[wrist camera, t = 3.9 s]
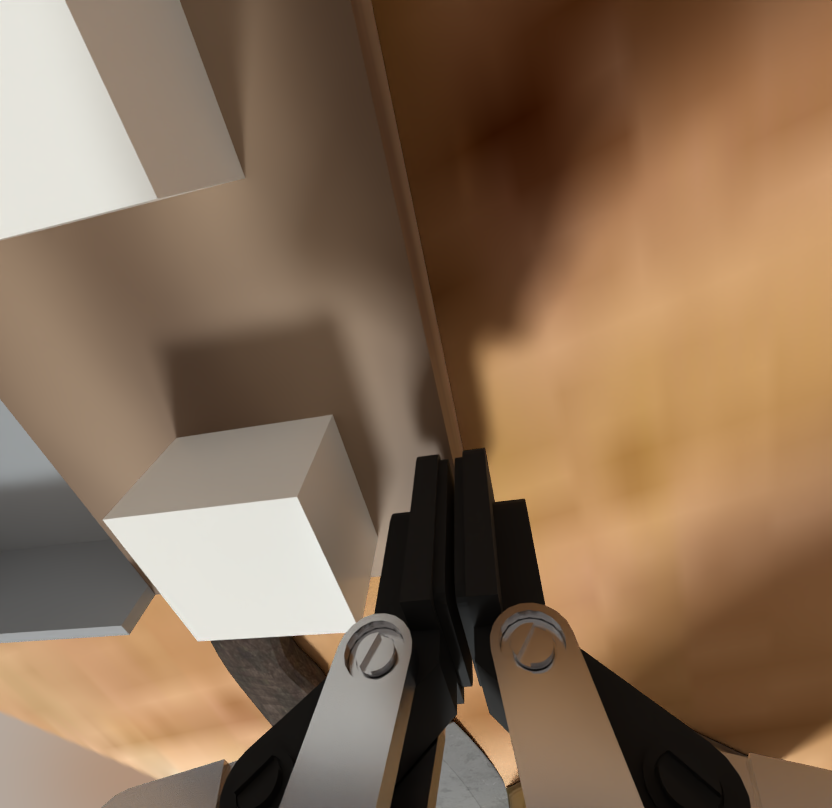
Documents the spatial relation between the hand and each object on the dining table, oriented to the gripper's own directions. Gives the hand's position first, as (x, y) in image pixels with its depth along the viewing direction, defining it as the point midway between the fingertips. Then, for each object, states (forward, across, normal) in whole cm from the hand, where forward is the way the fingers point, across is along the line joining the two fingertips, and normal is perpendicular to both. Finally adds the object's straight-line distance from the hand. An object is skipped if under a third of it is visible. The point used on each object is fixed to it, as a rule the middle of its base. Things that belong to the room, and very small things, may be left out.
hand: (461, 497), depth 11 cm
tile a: (+1, +5, 0) cm, 5 cm away
